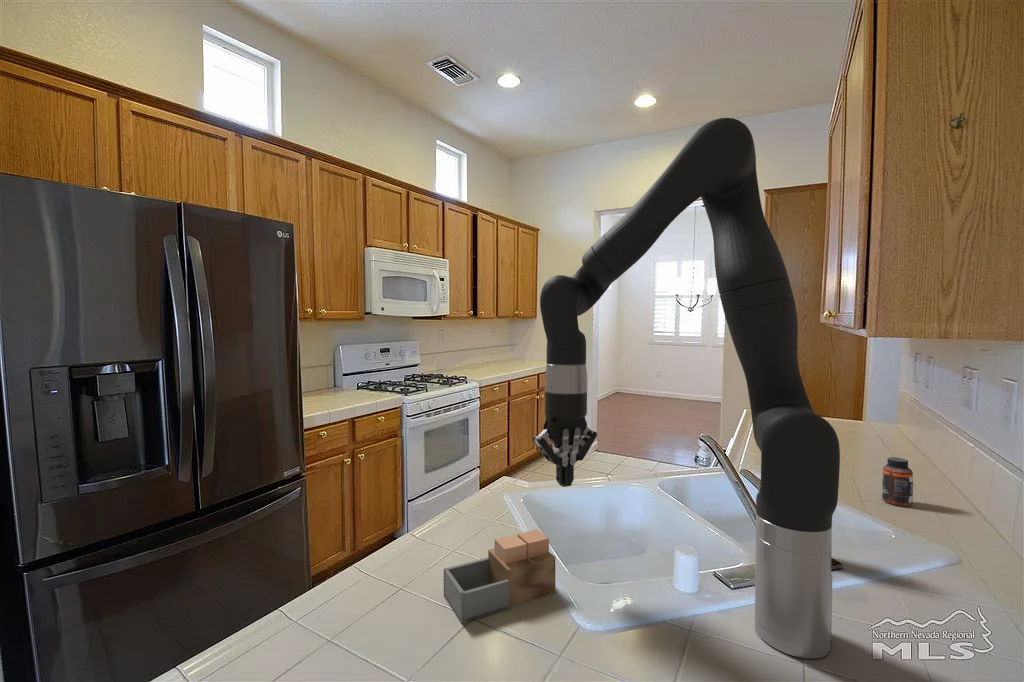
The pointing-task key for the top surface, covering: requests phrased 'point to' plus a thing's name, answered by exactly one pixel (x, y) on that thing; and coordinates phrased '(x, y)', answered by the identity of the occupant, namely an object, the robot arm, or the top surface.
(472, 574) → the tray
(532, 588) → the brown block
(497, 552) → the tile
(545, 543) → the tile
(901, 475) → the supplement bottle
